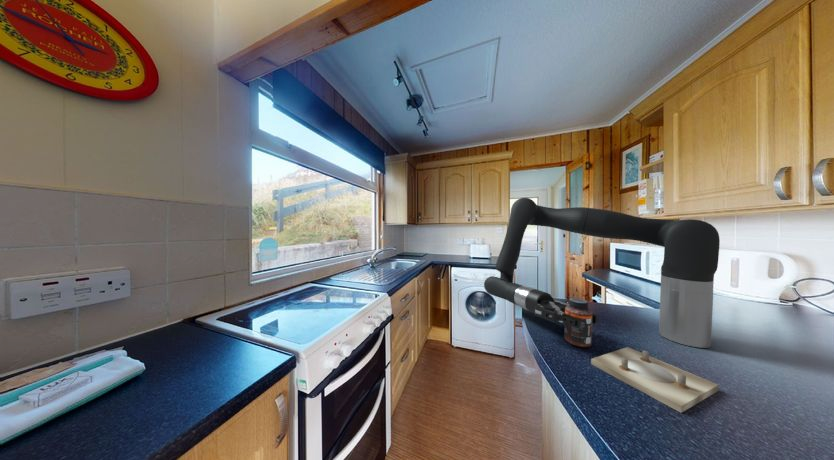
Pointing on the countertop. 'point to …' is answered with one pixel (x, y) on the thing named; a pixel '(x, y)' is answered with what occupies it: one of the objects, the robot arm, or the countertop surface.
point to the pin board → (656, 378)
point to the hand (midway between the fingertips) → (588, 321)
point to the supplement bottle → (584, 332)
